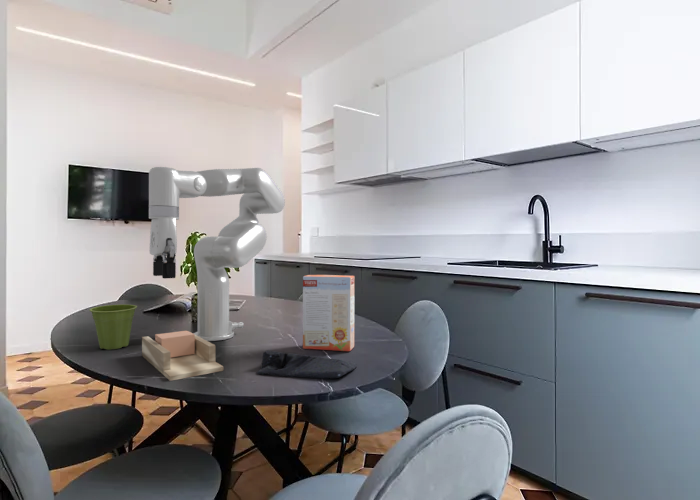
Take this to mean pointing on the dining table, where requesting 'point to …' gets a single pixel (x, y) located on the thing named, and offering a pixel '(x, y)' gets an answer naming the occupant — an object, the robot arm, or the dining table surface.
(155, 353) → the chute
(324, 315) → the cracker box
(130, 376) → the dining table surface
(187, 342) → the block
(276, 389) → the dining table surface
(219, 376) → the dining table surface
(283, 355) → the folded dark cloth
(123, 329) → the plant pot
